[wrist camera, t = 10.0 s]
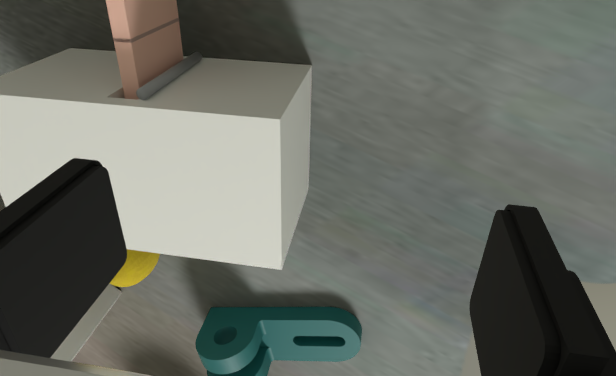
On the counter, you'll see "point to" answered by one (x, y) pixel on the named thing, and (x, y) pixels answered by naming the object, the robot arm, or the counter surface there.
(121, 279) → the lemon
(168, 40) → the strip
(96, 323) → the milk carton
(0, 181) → the ticket dispenser
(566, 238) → the counter surface
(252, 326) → the bracket
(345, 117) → the counter surface
